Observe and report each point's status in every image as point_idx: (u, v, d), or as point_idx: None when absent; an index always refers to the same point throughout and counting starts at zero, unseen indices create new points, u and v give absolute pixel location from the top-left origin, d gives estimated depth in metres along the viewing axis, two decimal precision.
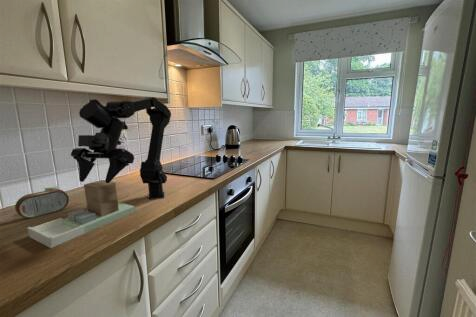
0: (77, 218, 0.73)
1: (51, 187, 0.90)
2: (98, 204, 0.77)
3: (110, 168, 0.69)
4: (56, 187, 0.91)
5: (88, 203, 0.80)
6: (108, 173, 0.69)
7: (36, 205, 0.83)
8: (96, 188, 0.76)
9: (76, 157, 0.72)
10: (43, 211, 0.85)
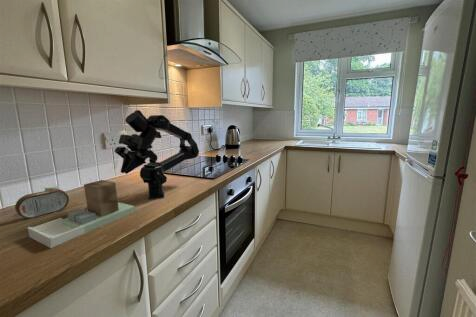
0: (77, 218, 0.73)
1: (51, 187, 0.90)
2: (98, 204, 0.77)
3: (130, 162, 0.87)
4: (56, 187, 0.91)
5: (88, 203, 0.80)
6: (128, 166, 0.87)
7: (36, 205, 0.83)
8: (96, 188, 0.76)
9: (123, 153, 0.90)
10: (43, 211, 0.85)
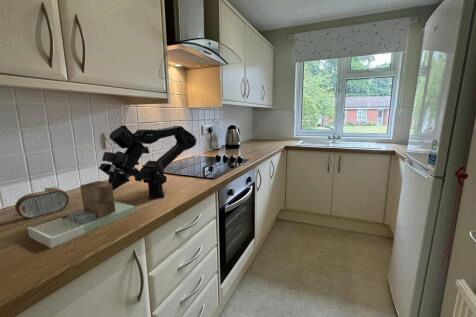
0: (77, 218, 0.73)
1: (51, 187, 0.90)
2: (94, 206, 0.76)
3: (112, 180, 0.83)
4: (56, 187, 0.91)
5: (84, 204, 0.79)
6: None
7: (36, 205, 0.83)
8: (92, 189, 0.75)
9: (108, 171, 0.84)
10: (43, 211, 0.85)
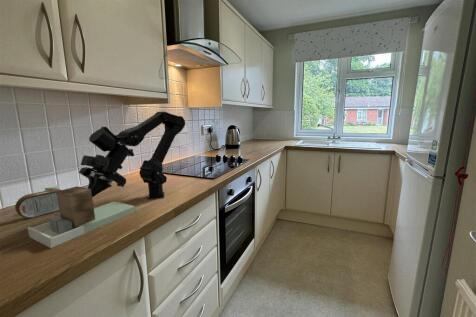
0: None
1: (51, 187, 0.90)
2: (70, 214, 0.70)
3: (92, 186, 0.77)
4: (56, 187, 0.91)
5: (61, 212, 0.73)
6: None
7: (36, 205, 0.83)
8: (68, 196, 0.69)
9: (88, 176, 0.79)
10: (43, 211, 0.85)
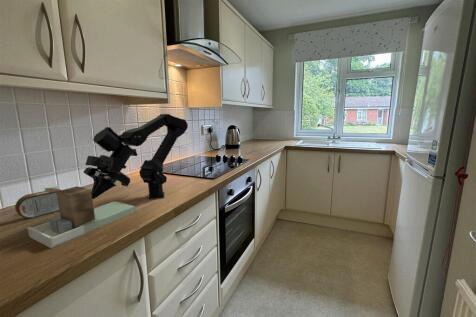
0: None
1: (51, 187, 0.90)
2: (70, 214, 0.70)
3: (97, 186, 0.78)
4: (56, 187, 0.91)
5: (61, 212, 0.73)
6: (94, 190, 0.78)
7: (36, 205, 0.83)
8: (68, 196, 0.69)
9: (93, 176, 0.80)
10: (43, 211, 0.85)
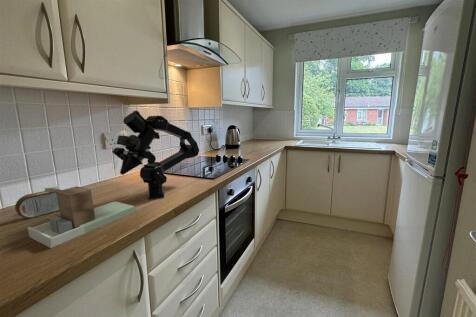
0: None
1: (51, 187, 0.90)
2: (70, 214, 0.70)
3: (126, 163, 0.87)
4: (56, 187, 0.91)
5: (61, 212, 0.73)
6: (124, 166, 0.87)
7: (36, 205, 0.83)
8: (68, 196, 0.69)
9: (122, 154, 0.89)
10: (43, 211, 0.85)
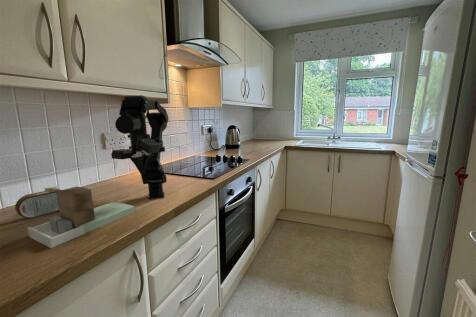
0: None
1: (51, 187, 0.90)
2: (70, 214, 0.70)
3: (146, 163, 0.87)
4: (56, 187, 0.91)
5: (61, 212, 0.73)
6: (145, 167, 0.87)
7: (36, 205, 0.83)
8: (68, 196, 0.69)
9: (141, 157, 0.83)
10: (43, 211, 0.85)
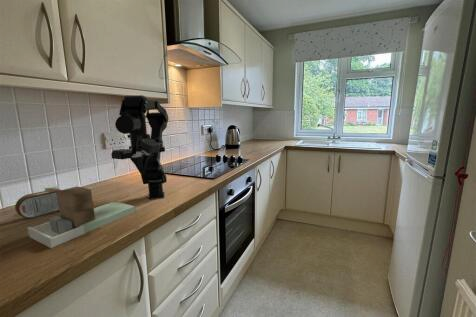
0: None
1: (51, 187, 0.90)
2: (70, 214, 0.70)
3: (146, 163, 0.87)
4: (56, 187, 0.91)
5: (61, 212, 0.73)
6: (145, 167, 0.87)
7: (36, 205, 0.83)
8: (68, 196, 0.69)
9: (141, 157, 0.83)
10: (43, 211, 0.85)
